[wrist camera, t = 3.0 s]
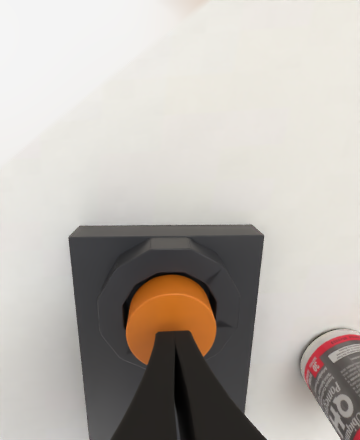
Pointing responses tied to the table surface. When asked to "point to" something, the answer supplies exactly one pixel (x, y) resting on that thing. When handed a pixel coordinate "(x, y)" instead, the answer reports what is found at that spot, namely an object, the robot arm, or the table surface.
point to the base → (141, 273)
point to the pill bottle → (336, 379)
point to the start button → (169, 314)
